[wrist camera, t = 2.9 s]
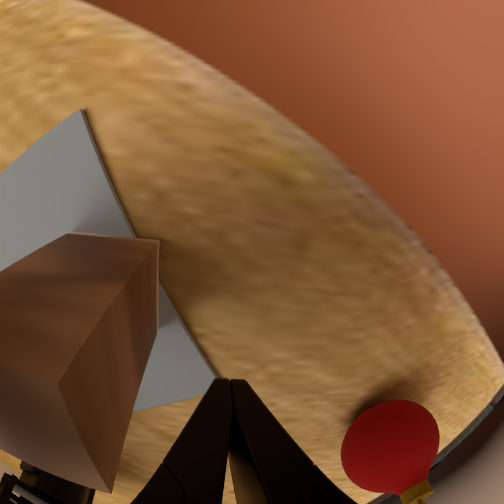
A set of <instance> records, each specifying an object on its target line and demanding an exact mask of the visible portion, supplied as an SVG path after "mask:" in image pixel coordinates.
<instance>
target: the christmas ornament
mask: <svg viewBox="0 0 504 504" xmlns="http://www.w3.org/2000/svg"><path fill="white" fill-rule="evenodd" d="M439 439H440V436H439V429H438V425H437V423H436V420H435V419H434V417H433V416H432V414H431V413H430V412H429V411H428V410H427V409H426V408H424V407H423V406H421V405H419V404H417V403H415V402H412V401H407V400H391V401H386V402H382V403H380V404H377V405H375V406H373V407H371V408H369V409H367V410H366V411H365V412H363V413H362V414H361V415H360V416H359V417H358V418H357V419H356V420H355V421H354V422H353V423H352V425H351V426H350V427H349V429H348V431H347V433H346V434H345V437H344V440H343V443H342V448H341V461H342V466H343V468H344V471H345V473H346V474H347V476H348V478H349V479H350V480H351V481H352V482H353V483H354V484H356V485H357V486H359V487H360V488H362V489H365V490H368V491H371V492H378V493H394V494H397V495H399V496H400V498H401V500H402V502H403V504H425V502H424V500H425V499H426V498H428V497H429V496H430V495H431V494H432V493H433V492H434V490H433V489H432V488H431V487H430V484H429V482H428V481H427V477H428V473H429V469H430V467H431V465H432V463H433V461H434V459H435V457H436V455H437V452H438V448H439Z"/></svg>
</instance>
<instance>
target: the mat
mask: <svg viewBox="0 0 504 504" xmlns="http://www.w3.org/2000/svg"><path fill="white" fill-rule="evenodd" d="M71 231H74V232H84V233H95V234H105V235H115V236H125V237H135V238H137V237H136V235H135V233H134V231H133V229H132V227H131V224H130V222H129V220H128V218H127V216H126V214H125V212H124V210H123V207H122V205H121V203H120V201H119V199H118V196H117V194H116V192H115V190H114V187H113V185H112V183H111V180H110V178H109V176H108V173H107V171H106V168H105V166H104V164H103V161H102V159H101V156H100V154H99V151H98V149H97V146H96V143H95V141H94V138H93V135H92V133H91V130H90V127H89V124H88V122H87V119H86V116H85V113H84V110H82V109H79V110H77V111H76V112H75V113H73V114H72V115H70V116H69V117H67V118H66V119H65V120H63V121H62V122H61V123H59V124H58V125H57V126H55V127H54V128H53V129H51V130H50V131H49V132H47V133H46V134H45V135H44V136H42V137H41V138H40V139H39V140H38V141H36V142H35V143H34V144H33V145H32V146H30V147H29V148H28V149H27V150H26V151H25V152H24V153H22V154H21V155H20V156H19V157H18V158H17V159H16V160H15V161H14V162H13V163H12V164H10V165H9V166H8V167H7V168H6V169H5V170H4V171H3V172H2V173H1V174H0V271H2V270H4V269H5V268H7V267H8V266H10V265H12V264H13V263H15V262H17V261H18V260H20V259H22V258H23V257H25V256H27V255H29V254H30V253H32V252H34V251H36V250H37V249H39V248H41V247H43V246H45V245H46V244H48V243H50V242H52V241H54V240H56V239H57V238H59V237H61V236H63V235H65V234H67V233H69V232H71ZM158 313H159V330H158V333H157V336H156V338H155V341H154V344H153V347H152V350H151V353H150V356H149V359H148V362H147V366H146V369H145V372H144V375H143V378H142V381H141V385H140V388H139V391H138V394H137V398H136V401H135V404H134V408H133V411H132V412H135V411H140V410H144V409H149V408H153V407H158V406H162V405H166V404H170V403H174V402H178V401H182V400H186V399H189V398H193V397H196V396H200V395H203V394H205V393H206V391H207V390H208V388H209V386H210V385H211V383H212V381H213V380H214V379H215V378H219V377H218V376H217V374H216V373H215V371H214V370H213V368H212V367H211V365H210V364H209V362H208V361H207V359H206V358H205V356H204V355H203V353H202V352H201V350H200V349H199V347H198V345H197V344H196V342H195V341H194V339H193V337H192V336H191V334H190V333H189V331H188V329H187V328H186V326H185V324H184V323H183V321H182V319H181V318H180V316H179V314H178V313H177V311H176V309H175V307H174V306H173V304H172V302H171V301H170V299H169V297H168V295H167V293H166V292H165V290H164V288H163V286H162V285H161V283H160V281H159V286H158Z"/></svg>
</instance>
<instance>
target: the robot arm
mask: <svg viewBox="0 0 504 504" xmlns="http://www.w3.org/2000/svg"><path fill="white" fill-rule="evenodd" d="M227 457H229V463H230V469H231V475H232V481H233V486H234V491H235V497H236V502H237V504H358V503H356V502H355V501H354V500H352V499H351V498H350V497H349V496H347V495H346V494H345V493H344V492H343V491H341V490H340V489H339V488H338V487H337V486H336V485H335V484H334V483H333V482H332V481H331V480H330V479H329V478H328V477H327V476H326V475H325V474H324V473H323V472H322V471H321V470H320V469H319V468H318V467H317V466H316V465H313V464H314V463H313V461H312V460H311V459H310V458H309V457H308V456H307V455H306V454H305V452H304V451H303V450H302V449H301V448H300V447H299V446H298V444H297V443H296V442H295V441H294V440H293V439H292V437H291V436H290V435H289V434H288V433H287V431H286V430H285V429H284V428H283V427H282V425H281V424H280V423H279V422H278V421H277V419H276V418H275V417H274V416H273V414H272V413H271V412H270V411H269V409H268V408H267V407H266V406H265V404H264V403H263V402H262V401H261V399H260V398H259V397H258V395H257V394H256V393H255V392H254V390H253V389H252V388H251V386H250V385H249V384H248V382H247V381H246V380H244V379H231V380H229V379H226V378H215V379H214V380H213V381H212V383H211V385H210V386H209V388H208V390H207V391H206V393H205V395H204V396H203V398H202V399H201V401H200V403H199V404H198V406H197V408H196V409H195V411H194V413H193V414H192V416H191V417H190V419H189V421H188V422H187V424H186V425H185V427H184V429H183V430H182V432H181V433H180V435H179V437H178V438H177V440H176V441H175V443H174V444H173V446H172V448H171V449H170V451H169V452H168V454H167V455H166V457H165V458H164V460H163V463H161V464H160V466H159V467H158V469H157V470H156V472H155V473H154V475H153V476H152V478H151V479H150V480H149V482H148V483H147V485H146V486H145V487H144V489H143V490H142V491H141V492H140V493H139V494H138V495H137V497H136V498H135V499H134V500H133V501H132V502H131V503H130V504H222V498H223V490H224V482H225V474H226V466H227ZM20 469H21V470H23V472H22V474H21V476H20V479H18V477H16V476H15V475H13V474H12V476H11V475H9V474H7V473H4V475H3V477H2V479H1V482H0V504H92V503H93V499H94V494H95V490H96V489H92V488H89V487H86V486H83V485H80V484H77V483H74V482H71V481H69V480H66V479H63V478H61V477H58V476H56V475H53V474H51V473H48V472H46V471H44V470H41V469H39V468H37V467H35V466H33V465H30V464H28V463H26V462H24V461H22V462H21V464H20ZM13 490H14V491H15V492H17V493H18V494H20V497H17V496H16V495H14V494H13V493H12V491H13Z"/></svg>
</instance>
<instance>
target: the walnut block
mask: <svg viewBox="0 0 504 504" xmlns="http://www.w3.org/2000/svg"><path fill="white" fill-rule="evenodd" d="M159 248H160V240H155V239H145V238H135V237H125V236H115V235H105V234H95V233H84V232H74V231H71V232H69V233H67V234H65V235H63V236H61V237H59V238H57V239H56V240H54V241H52V242H50V243H48V244H46V245H45V246H43V247H41V248H39V249H37V250H36V251H34V252H32V253H30V254H29V255H27V256H25V257H23V258H22V259H20V260H18V261H17V262H15V263H13V264H12V265H10V266H8V267H7V268H5V269H4V270H2V271H0V449H2V450H3V451H5V452H7V453H9V454H11V455H13V456H14V457H16V458H18V459H20V460H22V461H24V462H26V463H28V464H30V465H33V466H35V467H37V468H39V469H41V470H44V471H46V472H48V473H51V474H53V475H56V476H58V477H61V478H63V479H66V480H69V481H71V482H74V483H77V484H80V485H83V486H86V487H89V488H92V489H96V490H99V491H102V492H106V493H110V494H112V490H113V485H114V481H115V476H116V472H117V468H118V464H119V460H120V456H121V452H122V448H123V444H124V440H125V436H126V433H127V429H128V425H129V422H130V418H131V415H132V411H133V408H134V404H135V401H136V398H137V394H138V391H139V388H140V385H141V381H142V378H143V375H144V372H145V369H146V366H147V362H148V359H149V356H150V353H151V350H152V347H153V344H154V341H155V338H156V336H157V333H158V330H159V313H158V286H159Z"/></svg>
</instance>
